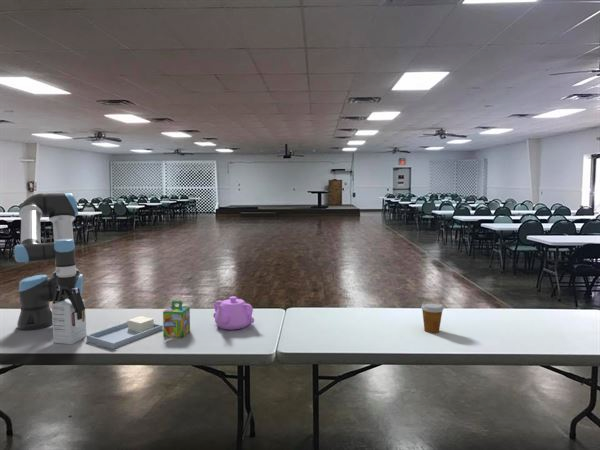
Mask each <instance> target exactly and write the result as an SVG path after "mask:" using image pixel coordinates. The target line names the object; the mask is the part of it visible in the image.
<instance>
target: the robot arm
mask: <svg viewBox="0 0 600 450" xmlns="http://www.w3.org/2000/svg"><path fill="white" fill-rule="evenodd" d="M75 197H76V196H75V195H74V194H73V193H70V192H69V193H68V192H58V193H56V192H54V193H48V192H47V193H43V192H42V193H36V194H33V195H31V196H29V197H27V198H25V200H24V201H23V202H22V203H21V205H20V207H19V210H18V216H19V218H20V244H16V245H15V246H14V247H13V248H14V249H13V250H14V252H13V253H14V259H15V262H17V263H29V262H40V261H50V260H55V263H54V264H55V270H54V271H53V272H52V276H50V277H49V276H48V275H47V274H37V275H33V276H29V277H25V278H22V279H21V280H20V281H19V282H18V283H19V284H18V292H19V303H20V304H19V306H20V313H19V317H18V320H17V324H16V326H17V329H18V330H21V331H31V330H39V329H43V328H47V327H50V326H53V323H52V308H51V307H50V302H52V303H51V304H54V303H57V302H60V301H63V300H65V299H69V300H70V301H71V303H72V305H73V307H74V309H75V312H74V315H75V328H77V327H80V326H82V311H83V310H85V311H86V305H85V306H84V303H83V301H82V300H83V298H82V294H83V293H82V292H83V284H84V283H83V282H84V280H83V278H84V275H83V274H82V273H80V270H79V269H78V268H77V265H76V246H75V240H74V230H73V222H74V221H75V220H76V216H79V211H78V204H77V200H76V198H75ZM43 217H44V218H45V217H46V218H47V217H48V221H50V222H51V223H52V229H53V231H52V233H53V242H42V241H41V239H42V237H41V235H42V234H41V219H42V218H43Z"/></svg>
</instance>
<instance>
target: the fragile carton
mask: <svg viewBox="0 0 600 450" xmlns="http://www.w3.org/2000/svg"><path fill="white" fill-rule="evenodd" d="M127 322H128V330H131V331H135V332H139V333H141V332H144V331H147V330H150V329H152V328H154V323H155V322H154V318H152V317H146V316H142V315H139V316H136V317H134V318H130V319H127Z"/></svg>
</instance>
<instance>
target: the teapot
mask: <svg viewBox="0 0 600 450" xmlns="http://www.w3.org/2000/svg"><path fill="white" fill-rule="evenodd" d="M253 309H254V308H253V306H252V305H251V304H250V303H246V301H245V300H244V299H242V298H238V296H229V298H228V299H225V300H221V299H220V300H217V301H215V303H214V313H213V318H214V323H215V324H216V325H217V327H219V328H220V329H222V330H230V331H231V330H235V329H236V330H241V329H243V328H246V327H248V326H249V324H254V322H255V318H254V317H253V312H254V310H253Z"/></svg>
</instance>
